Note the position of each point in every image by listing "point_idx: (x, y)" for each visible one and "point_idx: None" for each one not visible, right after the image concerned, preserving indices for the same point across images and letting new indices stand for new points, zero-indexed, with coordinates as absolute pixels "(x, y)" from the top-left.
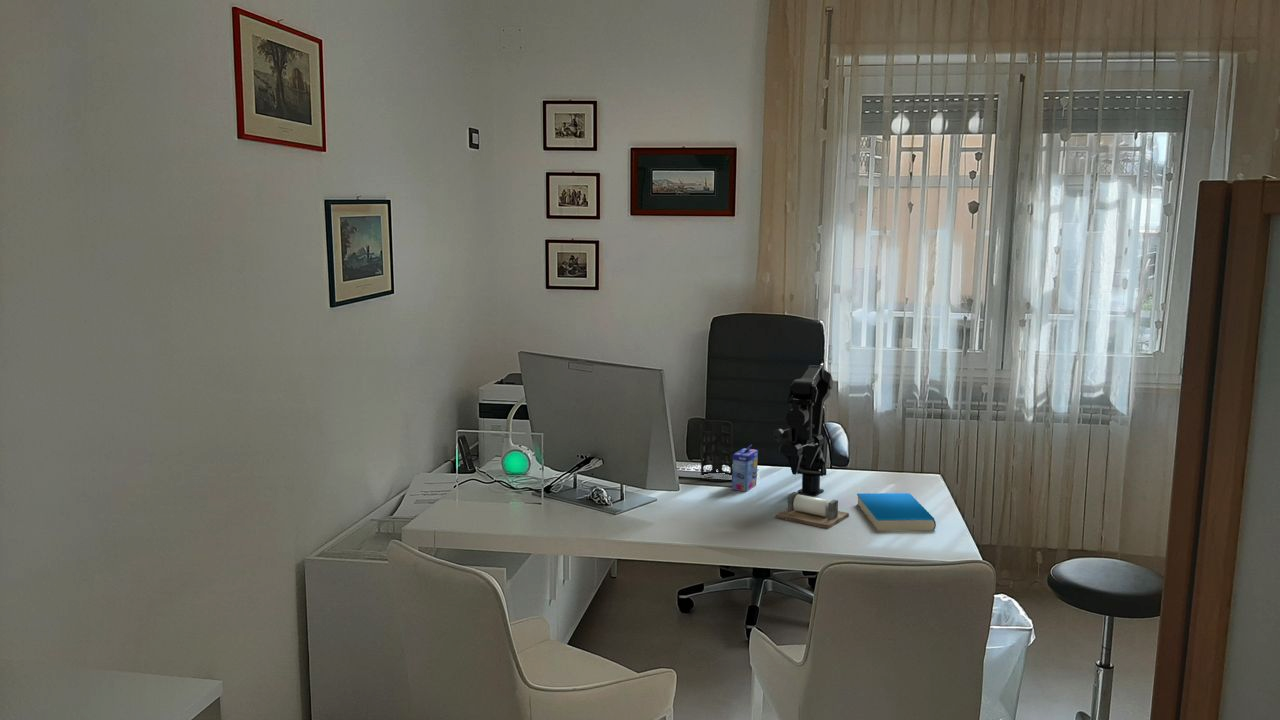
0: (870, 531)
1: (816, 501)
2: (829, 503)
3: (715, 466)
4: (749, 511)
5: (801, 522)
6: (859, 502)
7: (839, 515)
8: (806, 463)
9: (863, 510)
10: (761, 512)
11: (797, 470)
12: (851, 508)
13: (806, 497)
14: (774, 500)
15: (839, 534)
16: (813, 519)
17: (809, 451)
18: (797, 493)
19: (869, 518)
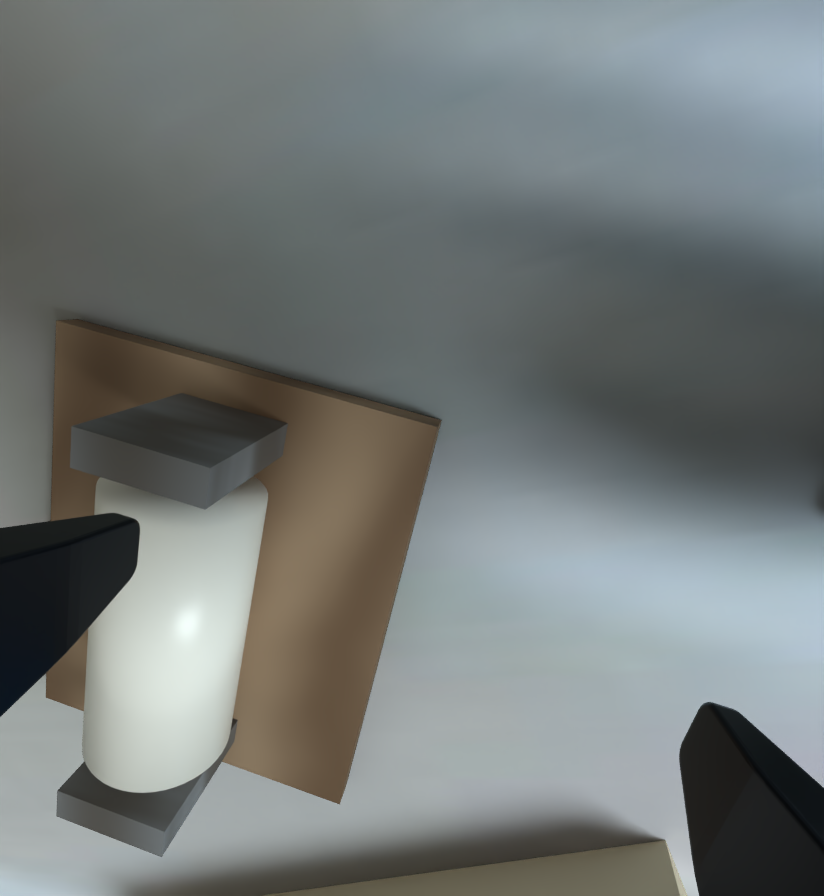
0: (143, 875)
1: (87, 691)
2: (60, 794)
3: None
4: (110, 30)
5: None
6: (615, 878)
7: (261, 751)
8: (740, 779)
9: (488, 873)
10: (139, 157)
11: (61, 645)
12: (537, 800)
13: (106, 611)
14: (551, 152)
15: (15, 739)
16: None
17: None
18: (205, 504)
19: (337, 892)
